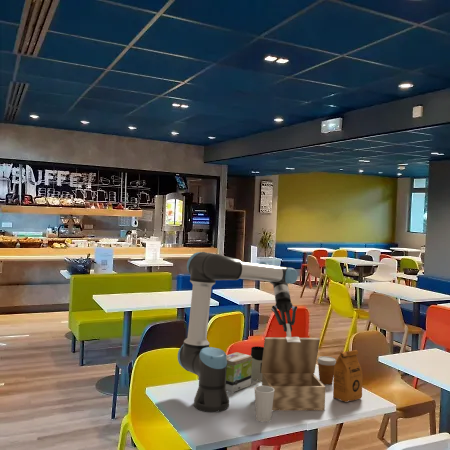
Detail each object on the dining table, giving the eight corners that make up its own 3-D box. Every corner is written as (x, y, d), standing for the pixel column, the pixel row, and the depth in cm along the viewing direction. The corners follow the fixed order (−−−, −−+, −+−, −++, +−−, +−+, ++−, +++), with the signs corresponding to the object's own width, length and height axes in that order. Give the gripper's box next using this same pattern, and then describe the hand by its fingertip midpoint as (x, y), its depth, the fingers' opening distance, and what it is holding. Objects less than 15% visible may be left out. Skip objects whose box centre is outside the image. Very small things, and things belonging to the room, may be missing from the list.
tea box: (233, 393, 216) (234, 361, 216) (216, 388, 222) (217, 357, 222) (251, 385, 228) (252, 355, 228) (234, 380, 234) (236, 351, 234)
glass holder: (256, 373, 246) (257, 345, 246) (277, 380, 236) (279, 351, 236) (245, 377, 240) (246, 347, 240) (266, 384, 230) (267, 354, 230)
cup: (257, 423, 185) (258, 393, 185) (250, 415, 192) (251, 386, 192) (276, 421, 187) (277, 391, 187) (268, 413, 195) (270, 385, 195)
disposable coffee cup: (313, 379, 240) (313, 356, 240) (329, 378, 243) (330, 355, 242) (322, 386, 231) (323, 362, 231) (339, 385, 233) (340, 360, 233)
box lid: (266, 341, 207) (264, 336, 211) (262, 376, 213) (260, 371, 217) (321, 342, 209) (319, 337, 213) (315, 377, 216) (313, 371, 220)
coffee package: (365, 400, 214) (367, 352, 214) (345, 405, 208) (347, 355, 207) (349, 393, 222) (351, 346, 222) (329, 397, 216) (331, 349, 216)
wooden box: (269, 410, 198) (270, 386, 198) (261, 394, 216) (262, 373, 216) (324, 410, 200) (325, 387, 200) (312, 394, 218) (313, 373, 218)
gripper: (293, 300, 240) (301, 341, 223) (268, 299, 238) (274, 341, 222) (296, 291, 234) (304, 332, 218) (270, 291, 233) (277, 332, 216)
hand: (289, 337), depth 220 cm, fingers closed
